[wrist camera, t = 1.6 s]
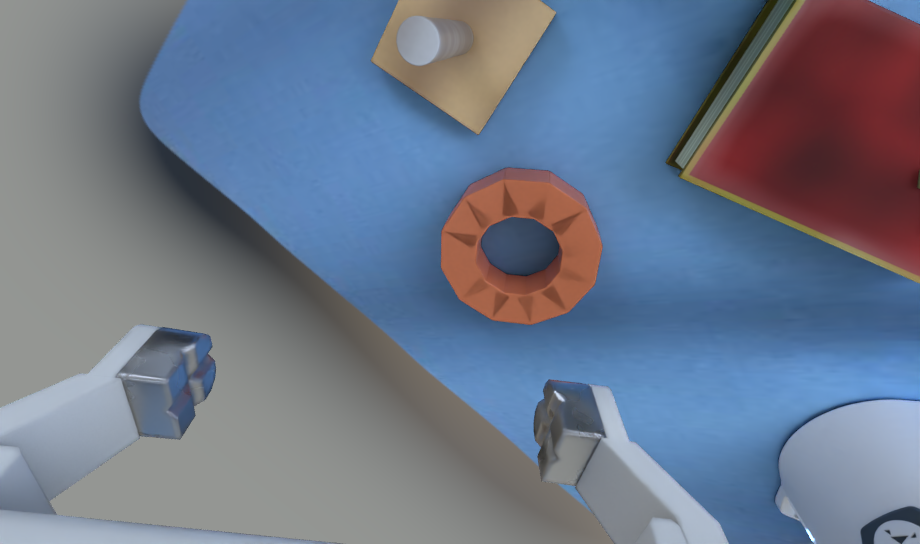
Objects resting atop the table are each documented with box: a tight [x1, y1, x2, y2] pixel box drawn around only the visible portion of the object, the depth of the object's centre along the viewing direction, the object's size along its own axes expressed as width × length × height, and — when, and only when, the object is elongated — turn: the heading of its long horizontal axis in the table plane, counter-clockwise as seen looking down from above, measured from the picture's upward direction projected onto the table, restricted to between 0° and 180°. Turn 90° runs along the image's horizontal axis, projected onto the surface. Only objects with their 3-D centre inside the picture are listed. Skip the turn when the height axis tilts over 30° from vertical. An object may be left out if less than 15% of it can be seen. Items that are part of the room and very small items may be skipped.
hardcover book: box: [666, 0, 920, 283], centre depth 28 cm, size 12×21×4 cm, turn 69°
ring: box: [441, 168, 602, 325], centre depth 36 cm, size 12×12×3 cm
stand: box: [371, 0, 556, 135], centre depth 26 cm, size 9×9×12 cm
